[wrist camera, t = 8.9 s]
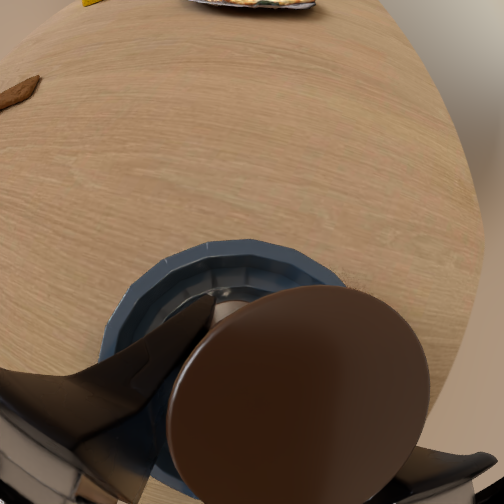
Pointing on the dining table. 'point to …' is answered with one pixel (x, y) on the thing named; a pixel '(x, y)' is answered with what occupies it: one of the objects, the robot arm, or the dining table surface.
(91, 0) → the element tile
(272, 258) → the bowl
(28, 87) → the primitive tool
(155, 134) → the dining table surface
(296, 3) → the food plate
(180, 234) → the dining table surface
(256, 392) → the pestle
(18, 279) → the dining table surface
